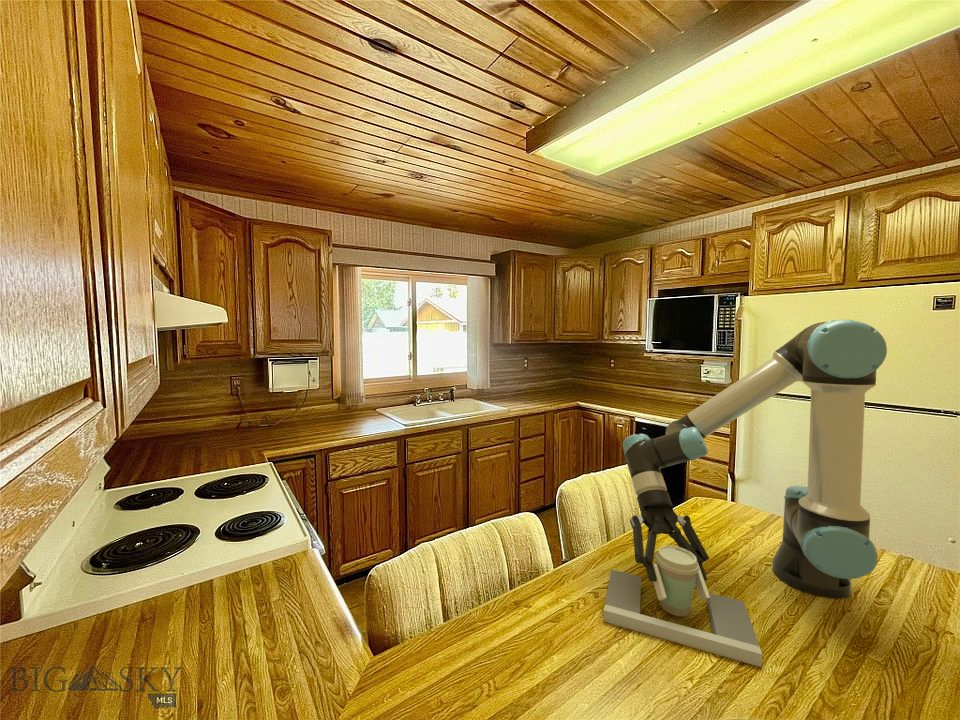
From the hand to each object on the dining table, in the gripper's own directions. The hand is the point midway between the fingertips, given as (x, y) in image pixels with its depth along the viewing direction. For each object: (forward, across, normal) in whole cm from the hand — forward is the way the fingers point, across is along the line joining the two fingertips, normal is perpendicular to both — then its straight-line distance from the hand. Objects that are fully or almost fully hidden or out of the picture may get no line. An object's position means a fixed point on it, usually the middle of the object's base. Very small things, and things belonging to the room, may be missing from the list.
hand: (684, 598), depth 82 cm
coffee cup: (+1, 0, -6) cm, 6 cm away
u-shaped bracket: (+2, 0, -6) cm, 7 cm away
